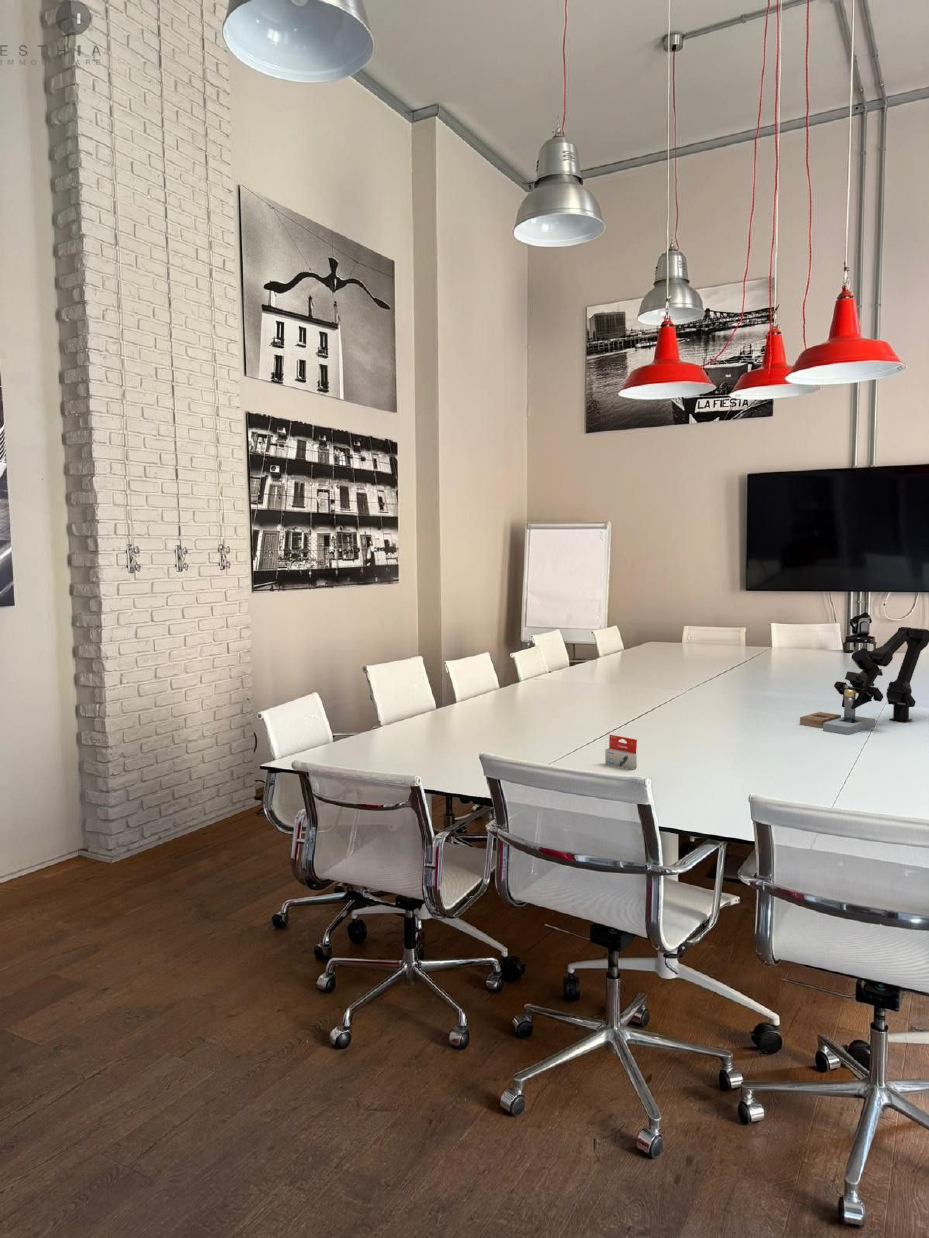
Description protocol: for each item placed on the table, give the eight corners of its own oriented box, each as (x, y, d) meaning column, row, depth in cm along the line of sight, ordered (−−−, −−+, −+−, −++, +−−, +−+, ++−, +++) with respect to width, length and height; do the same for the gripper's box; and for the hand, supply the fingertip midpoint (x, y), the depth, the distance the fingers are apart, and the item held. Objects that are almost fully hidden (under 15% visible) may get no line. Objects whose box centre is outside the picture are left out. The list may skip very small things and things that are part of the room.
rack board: (849, 722, 332) (849, 715, 331) (874, 726, 324) (875, 718, 324) (822, 730, 318) (823, 723, 317) (848, 734, 310) (848, 727, 310)
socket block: (819, 718, 339) (819, 711, 339) (841, 722, 332) (841, 714, 332) (799, 724, 329) (800, 717, 329) (821, 728, 322) (821, 720, 322)
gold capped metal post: (844, 723, 323) (845, 688, 322) (855, 724, 321) (856, 689, 320) (843, 725, 320) (844, 690, 319) (854, 726, 318) (855, 691, 317)
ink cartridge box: (632, 770, 265) (633, 740, 264) (604, 764, 273) (604, 735, 272) (637, 768, 267) (637, 739, 266) (609, 762, 275) (609, 734, 274)
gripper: (837, 661, 329) (817, 691, 325) (879, 666, 312) (858, 698, 308) (850, 678, 333) (830, 708, 329) (892, 685, 316) (872, 716, 312)
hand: (847, 707), depth 319 cm, fingers closed on gold capped metal post, 4 cm apart
